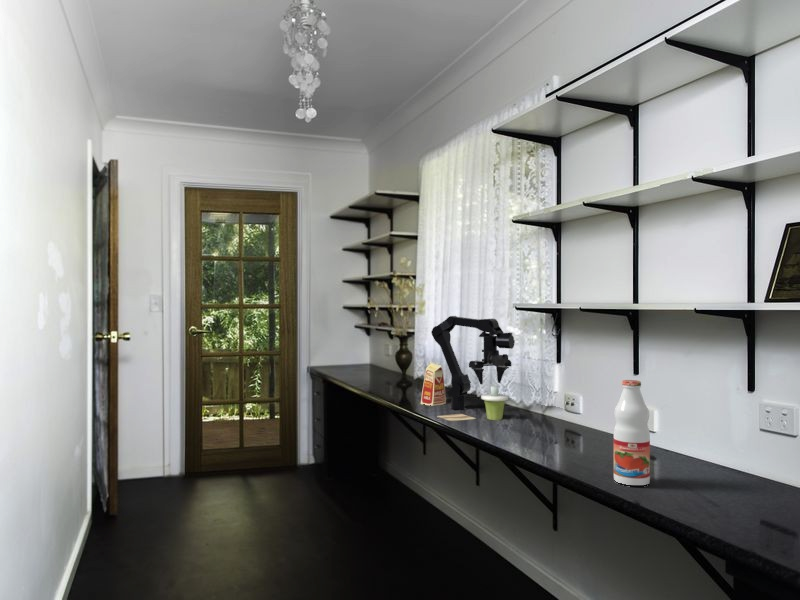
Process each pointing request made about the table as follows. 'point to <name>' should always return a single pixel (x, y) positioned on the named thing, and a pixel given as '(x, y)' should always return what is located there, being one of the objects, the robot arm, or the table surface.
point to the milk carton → (433, 386)
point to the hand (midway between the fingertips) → (490, 383)
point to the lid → (494, 395)
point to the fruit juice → (631, 437)
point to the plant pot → (494, 409)
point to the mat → (456, 417)
